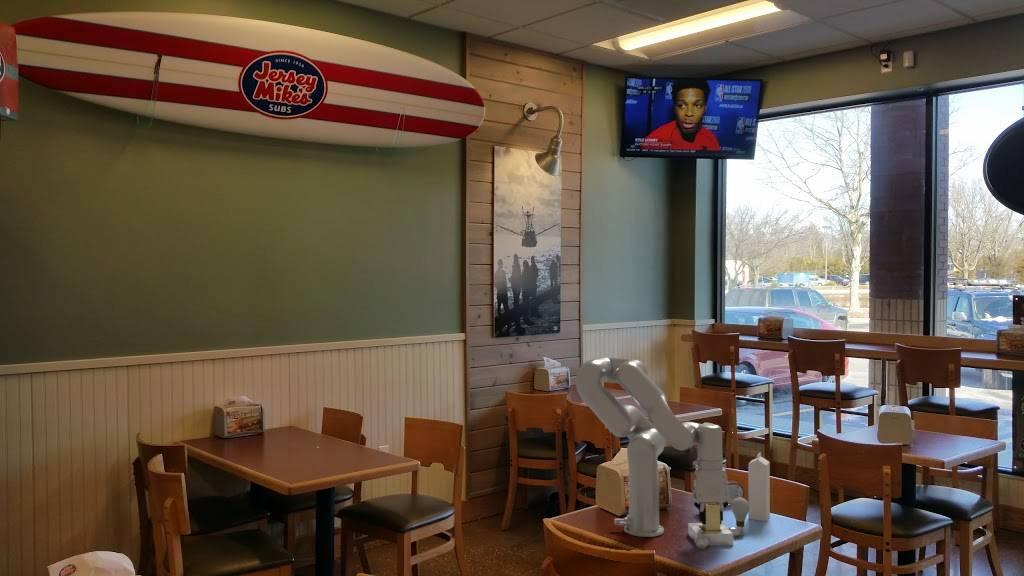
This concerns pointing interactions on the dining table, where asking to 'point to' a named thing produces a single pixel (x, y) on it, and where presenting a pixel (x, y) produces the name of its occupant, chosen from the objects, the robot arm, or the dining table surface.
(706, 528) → the block
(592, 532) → the dining table surface
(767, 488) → the milk
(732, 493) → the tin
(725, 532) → the white square socket base
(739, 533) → the shaft right
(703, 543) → the shaft left
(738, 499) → the light bulb
